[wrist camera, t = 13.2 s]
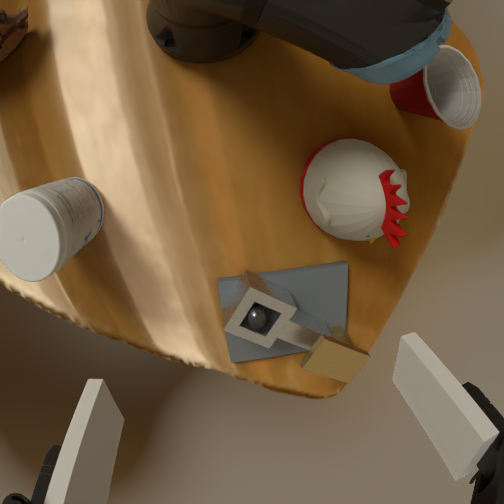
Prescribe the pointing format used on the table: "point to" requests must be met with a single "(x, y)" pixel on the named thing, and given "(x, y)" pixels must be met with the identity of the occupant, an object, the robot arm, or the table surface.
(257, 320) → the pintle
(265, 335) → the link
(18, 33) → the wooden carving
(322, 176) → the kitchen timer
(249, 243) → the table surface
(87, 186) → the supplement tub
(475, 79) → the plastic cup
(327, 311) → the board
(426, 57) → the robot arm
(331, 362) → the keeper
